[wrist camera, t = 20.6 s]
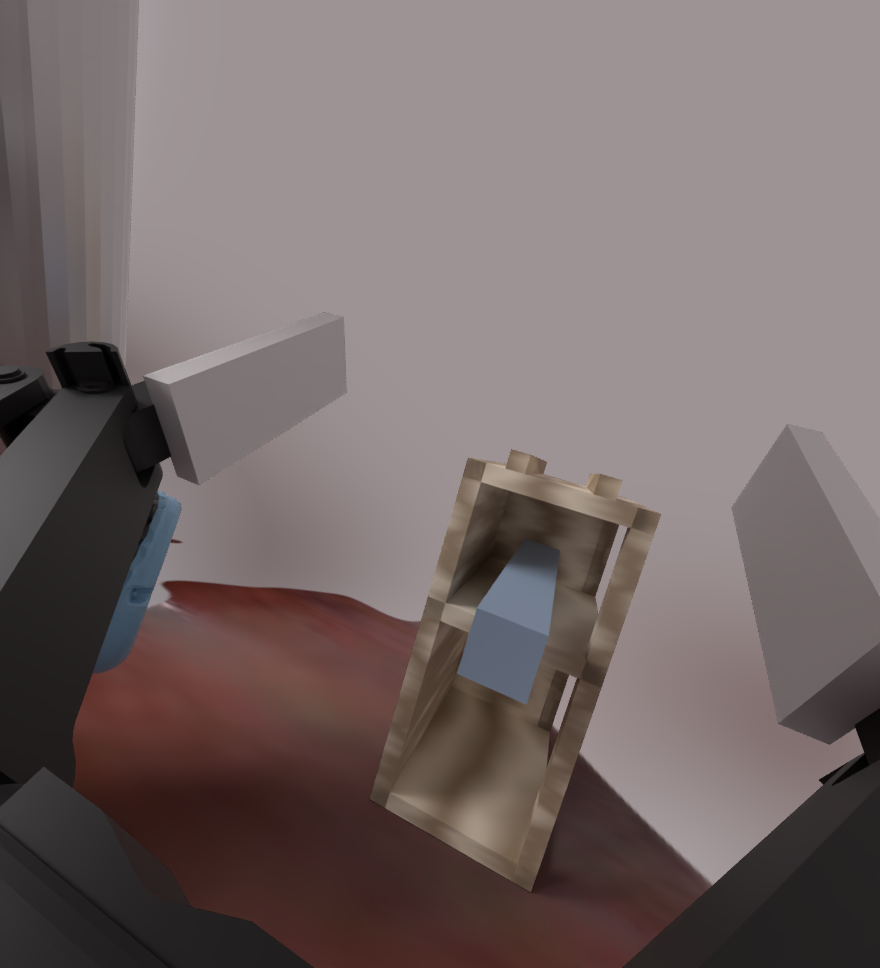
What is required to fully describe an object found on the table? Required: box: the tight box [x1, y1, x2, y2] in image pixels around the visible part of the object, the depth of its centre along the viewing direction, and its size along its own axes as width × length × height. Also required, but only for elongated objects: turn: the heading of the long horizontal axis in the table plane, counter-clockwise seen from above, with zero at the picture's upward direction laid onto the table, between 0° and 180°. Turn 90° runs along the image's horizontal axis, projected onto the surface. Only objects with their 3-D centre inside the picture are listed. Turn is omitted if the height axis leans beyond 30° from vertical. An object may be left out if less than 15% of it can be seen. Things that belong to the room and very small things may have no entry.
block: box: [457, 539, 560, 704], centre depth 35 cm, size 4×26×4 cm, turn 162°
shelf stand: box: [370, 449, 661, 892], centre depth 42 cm, size 14×20×32 cm
